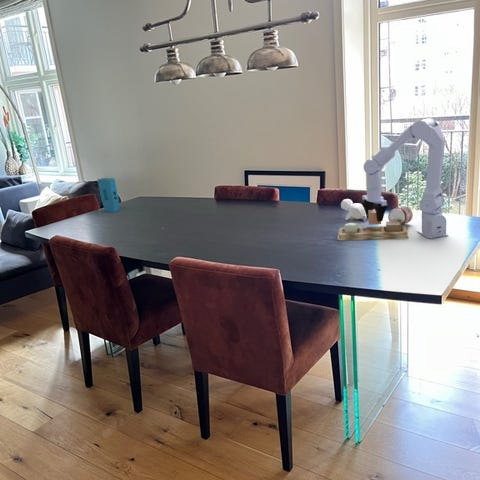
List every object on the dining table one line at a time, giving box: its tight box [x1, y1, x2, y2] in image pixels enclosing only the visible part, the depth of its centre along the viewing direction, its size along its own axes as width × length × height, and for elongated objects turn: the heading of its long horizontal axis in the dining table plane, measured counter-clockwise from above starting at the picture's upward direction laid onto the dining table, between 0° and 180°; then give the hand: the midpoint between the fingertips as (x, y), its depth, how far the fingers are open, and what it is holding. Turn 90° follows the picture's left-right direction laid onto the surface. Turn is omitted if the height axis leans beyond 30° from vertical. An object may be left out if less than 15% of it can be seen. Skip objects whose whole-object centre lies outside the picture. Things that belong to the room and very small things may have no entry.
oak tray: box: [337, 225, 409, 241], centre depth 190 cm, size 27×10×2 cm, turn 76°
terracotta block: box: [368, 209, 382, 226], centre depth 198 cm, size 5×5×5 cm
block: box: [97, 177, 120, 213], centre depth 290 cm, size 12×5×20 cm, turn 51°
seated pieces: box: [344, 221, 401, 233], centre depth 189 cm, size 21×5×4 cm, turn 76°
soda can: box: [387, 206, 414, 226], centre depth 195 cm, size 7×7×12 cm
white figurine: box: [340, 198, 368, 222], centre depth 216 cm, size 8×8×15 cm
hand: (374, 219), depth 198 cm, fingers closed on terracotta block, 7 cm apart
